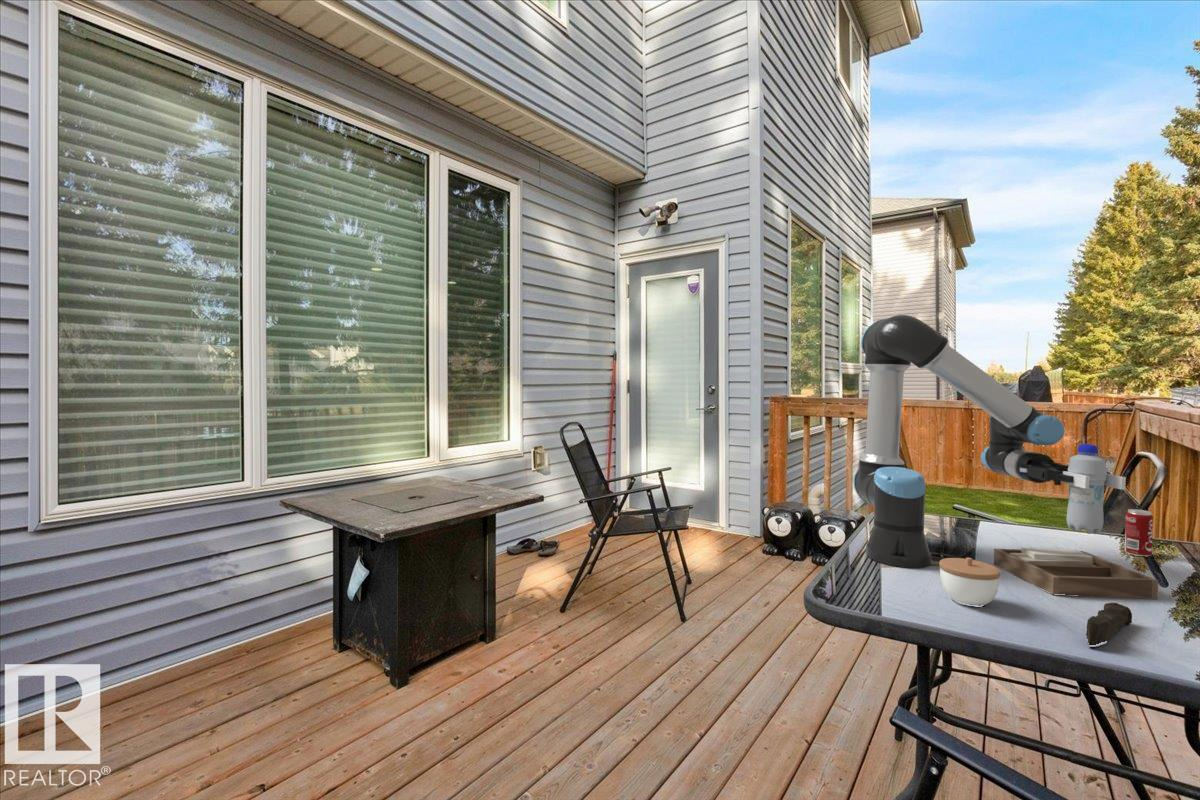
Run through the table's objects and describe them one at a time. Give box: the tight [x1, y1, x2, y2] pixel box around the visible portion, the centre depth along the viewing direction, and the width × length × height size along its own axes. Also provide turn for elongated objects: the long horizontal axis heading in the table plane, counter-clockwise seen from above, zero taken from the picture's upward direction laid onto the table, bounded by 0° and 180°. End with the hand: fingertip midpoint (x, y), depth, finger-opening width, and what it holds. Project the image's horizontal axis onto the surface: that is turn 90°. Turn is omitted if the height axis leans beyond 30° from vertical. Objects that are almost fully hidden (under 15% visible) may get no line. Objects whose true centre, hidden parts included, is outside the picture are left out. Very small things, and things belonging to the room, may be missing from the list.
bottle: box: [1065, 443, 1108, 535], centre depth 123 cm, size 7×7×20 cm
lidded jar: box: [938, 557, 1001, 606], centre depth 115 cm, size 11×11×9 cm
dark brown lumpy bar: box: [1085, 602, 1133, 645], centre depth 100 cm, size 19×4×5 cm, turn 123°
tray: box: [993, 548, 1159, 599], centre depth 127 cm, size 20×21×4 cm
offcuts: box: [1010, 546, 1095, 566], centre depth 132 cm, size 7×17×4 cm, turn 85°
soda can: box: [1124, 508, 1154, 557], centre depth 146 cm, size 5×5×12 cm
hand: (1105, 482), depth 118 cm, fingers closed on bottle, 7 cm apart
